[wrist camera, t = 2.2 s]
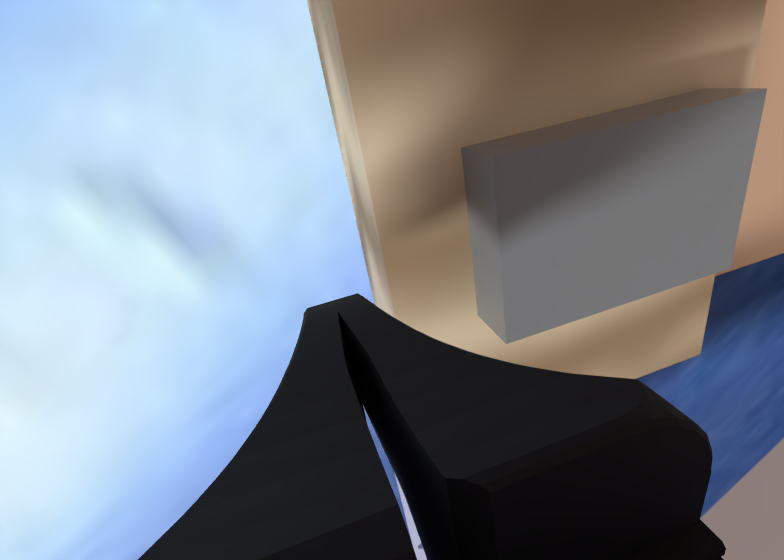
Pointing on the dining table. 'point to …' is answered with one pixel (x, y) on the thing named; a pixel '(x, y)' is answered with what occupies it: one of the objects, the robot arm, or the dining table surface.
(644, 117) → the thin grey panel
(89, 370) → the dining table surface
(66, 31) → the dining table surface
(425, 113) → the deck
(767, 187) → the mat
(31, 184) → the dining table surface
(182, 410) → the dining table surface
